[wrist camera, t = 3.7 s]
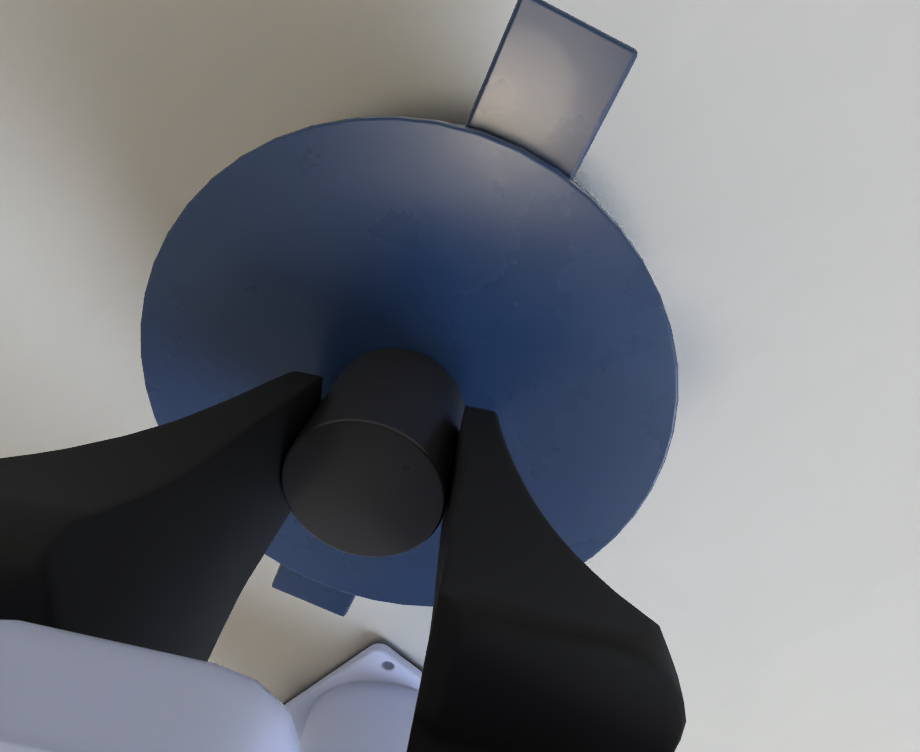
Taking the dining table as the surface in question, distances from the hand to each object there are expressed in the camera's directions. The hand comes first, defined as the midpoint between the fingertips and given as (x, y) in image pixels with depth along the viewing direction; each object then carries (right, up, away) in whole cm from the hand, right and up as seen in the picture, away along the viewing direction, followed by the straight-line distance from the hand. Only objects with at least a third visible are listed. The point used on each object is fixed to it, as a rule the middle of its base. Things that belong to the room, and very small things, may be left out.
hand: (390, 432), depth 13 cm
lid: (0, +1, +1) cm, 2 cm away
